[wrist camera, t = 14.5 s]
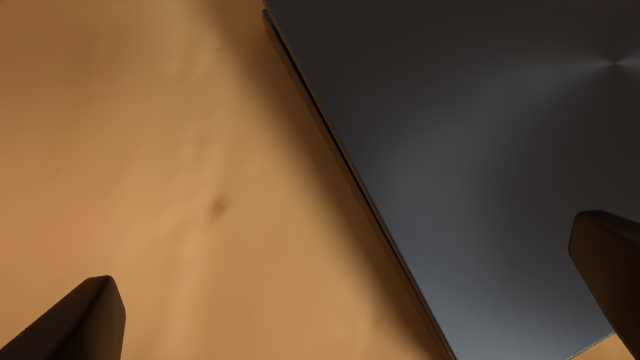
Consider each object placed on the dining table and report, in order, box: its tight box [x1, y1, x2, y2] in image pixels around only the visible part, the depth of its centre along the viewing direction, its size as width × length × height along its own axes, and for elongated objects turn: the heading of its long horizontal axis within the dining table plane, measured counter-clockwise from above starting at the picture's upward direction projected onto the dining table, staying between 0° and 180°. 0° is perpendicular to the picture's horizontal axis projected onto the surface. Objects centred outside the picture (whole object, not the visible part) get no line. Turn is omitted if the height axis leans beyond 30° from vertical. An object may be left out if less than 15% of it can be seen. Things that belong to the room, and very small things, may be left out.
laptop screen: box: [262, 0, 640, 360], centre depth 18 cm, size 17×21×1 cm
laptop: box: [262, 9, 452, 360], centre depth 20 cm, size 17×21×2 cm
